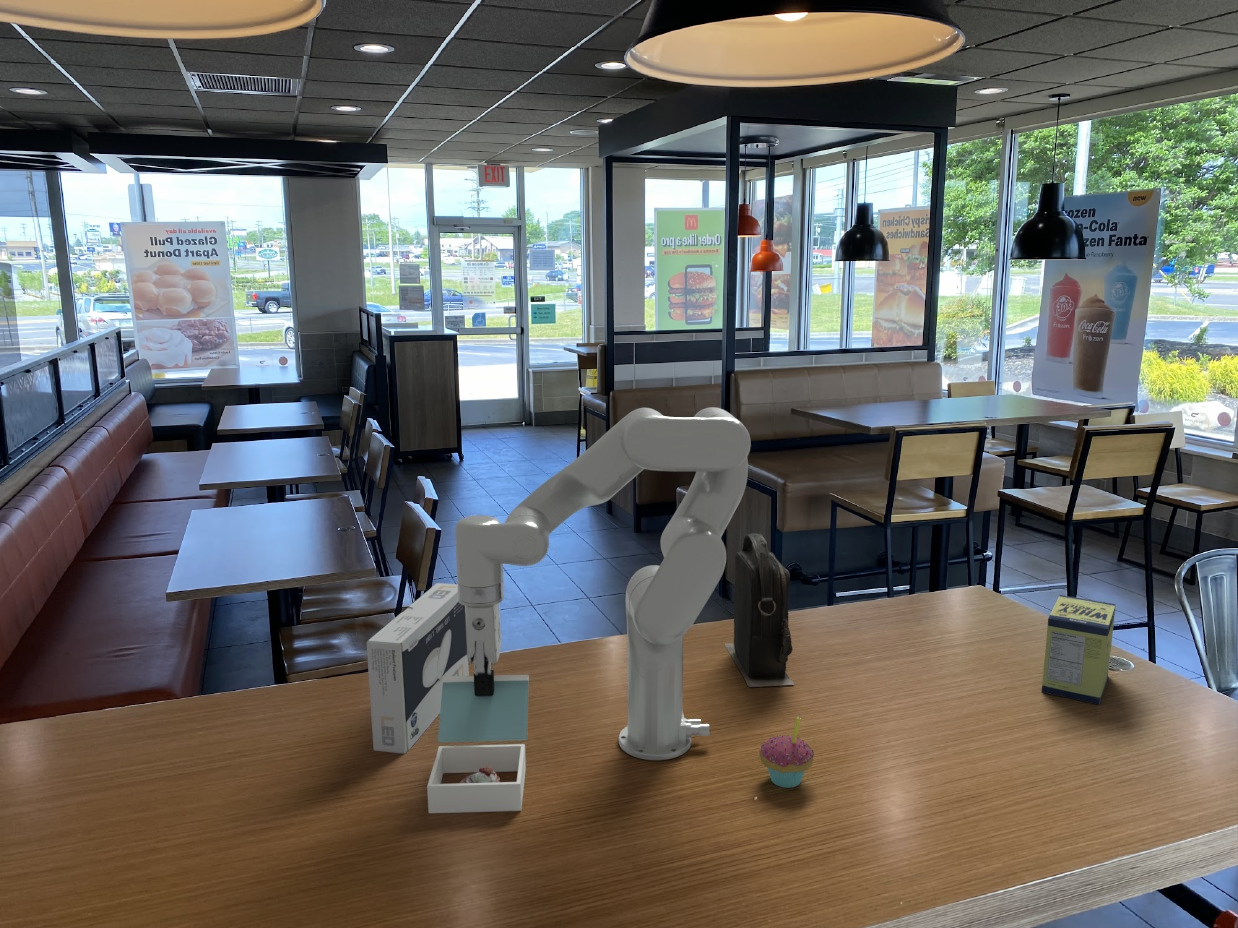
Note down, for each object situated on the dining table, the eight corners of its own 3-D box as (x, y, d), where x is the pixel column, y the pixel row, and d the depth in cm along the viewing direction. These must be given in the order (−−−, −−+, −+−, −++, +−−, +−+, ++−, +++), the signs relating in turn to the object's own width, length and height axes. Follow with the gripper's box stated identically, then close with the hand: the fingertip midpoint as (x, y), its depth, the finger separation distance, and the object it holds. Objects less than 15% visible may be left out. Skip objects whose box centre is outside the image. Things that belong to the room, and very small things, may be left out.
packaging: (406, 753, 156) (400, 643, 152) (373, 750, 157) (365, 641, 153) (469, 678, 185) (465, 584, 181) (441, 675, 187) (436, 582, 182)
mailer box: (525, 768, 151) (525, 743, 150) (521, 810, 139) (520, 783, 138) (440, 771, 151) (439, 746, 150) (428, 813, 139) (427, 786, 138)
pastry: (515, 797, 143) (514, 768, 142) (476, 817, 138) (475, 787, 137) (484, 778, 149) (483, 750, 148) (445, 796, 144) (444, 767, 143)
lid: (526, 738, 151) (527, 740, 151) (528, 674, 157) (528, 676, 158) (437, 740, 150) (438, 742, 151) (443, 676, 157) (443, 678, 158)
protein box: (1108, 675, 185) (1116, 602, 182) (1100, 706, 172) (1109, 628, 169) (1052, 664, 191) (1058, 593, 187) (1040, 692, 178) (1047, 617, 174)
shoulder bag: (723, 643, 202) (726, 520, 196) (764, 641, 203) (767, 519, 197) (749, 688, 180) (752, 552, 174) (794, 685, 181) (799, 550, 175)
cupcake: (815, 771, 150) (818, 703, 148) (808, 798, 142) (811, 727, 140) (763, 762, 153) (765, 696, 150) (753, 789, 145) (755, 719, 142)
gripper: (500, 606, 144) (503, 714, 148) (506, 575, 158) (509, 674, 162) (451, 607, 143) (456, 715, 147) (463, 576, 158) (467, 675, 162)
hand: (484, 693), depth 155 cm, fingers closed
